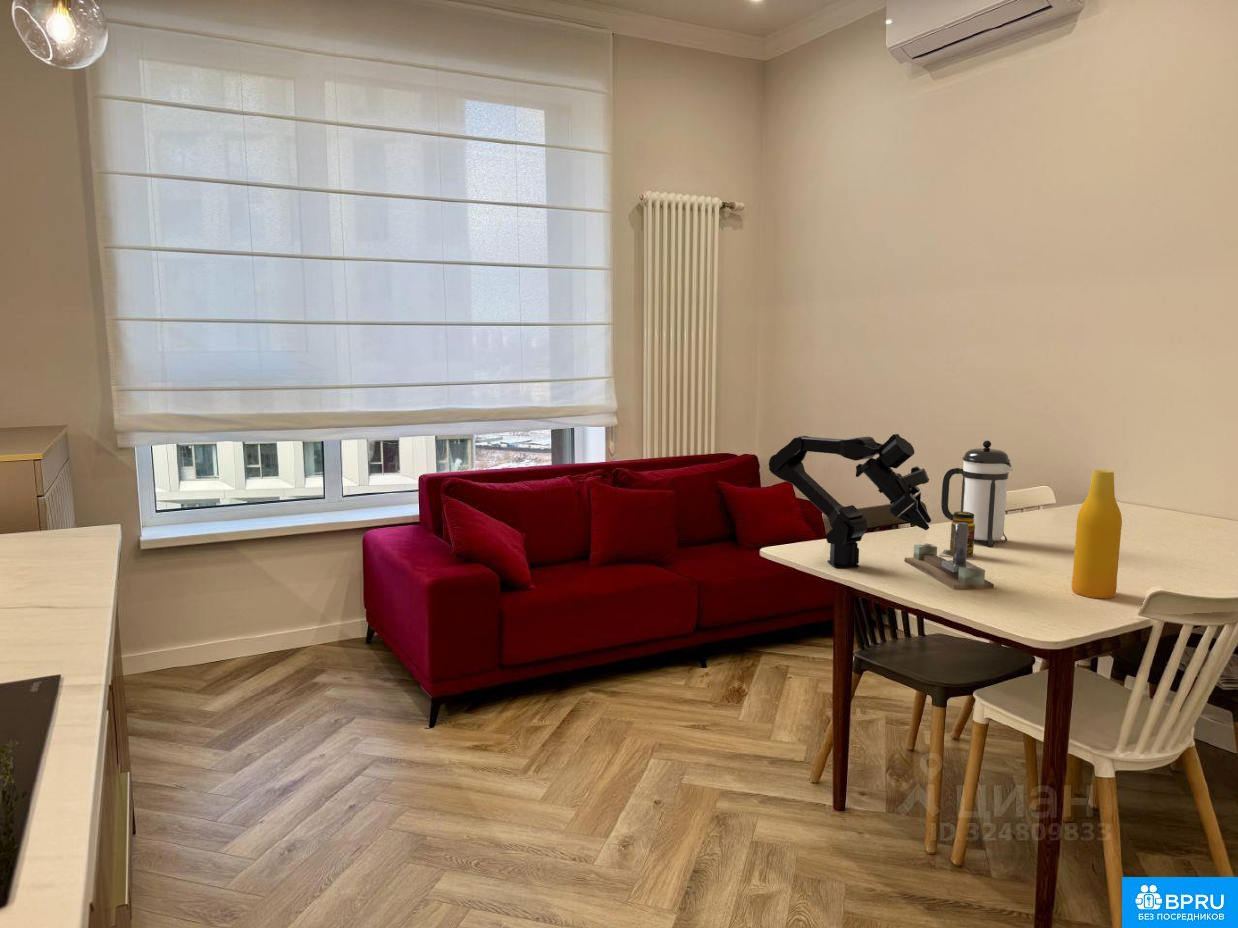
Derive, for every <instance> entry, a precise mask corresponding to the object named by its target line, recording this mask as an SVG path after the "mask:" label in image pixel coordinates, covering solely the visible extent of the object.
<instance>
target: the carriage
mask: <svg viewBox="0 0 1238 928" xmlns="http://www.w3.org/2000/svg"><path fill="white" fill-rule="evenodd" d="M967 538H968V523H964V522H956V523H955V535H954V552H953V557H952V560H951V559H949V560H947V559H945V560H946V561H942V567H944V568H946V569H948V570H950V571H952V572H959V567H967V566H975V567H978V566H977V565H976V564H974V563H972V562H969V561H968V560H967V559H966V554H967Z"/></svg>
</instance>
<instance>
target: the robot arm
mask: <svg viewBox="0 0 1238 928" xmlns="http://www.w3.org/2000/svg"><path fill="white" fill-rule="evenodd" d="M808 452H811V453H822V454H834V455H838V456H840V457H842V458H845V459H848V460H852V461H862V460H866V461H865V462H864V463H858V464H857V465H856V466H855V468H856V469H855V470H856V471H855V477H856V478H859V477H860V476H861V475H863V474H864V475H865V476H866V477H867V478H868V479H869V480H870V482H872V483H873V485H875V486H876V488H877V491H878V492H879V493H880V494H883V495H884V496H885V497H886V498H887V499H888V501H889V504H890V507H889V512H890V514H891V515H892V516H893V517H894V518H897V519H900V520H902V521H904V522H907V523H908V524H909V523H910V524H911V525H914V526H916V527H919V528H920V529H923V530H924V531H927V530H930V525H929V523H931V522H932V518H931V517H930V515H929V513H928V511H927V509H926V508H925V507H924V504H923V503H922V501H921V500H922V492H920V491H921V489H920V488H919V487H918V486H919V485H924V484H927V483H929V481H930V478H929V476H928V473H927V470H926V469H925V468H920V467H919V466H918V465H916V466H913V467H911V469H910V473H908V474H905V475H903V476H902V474H901V473H900V472H895V471H894V469H898V468H899V467H901V465H903V464H904V463H906V461H908V460H909V459H910V458H911V457H912V456H914V455H915V449H914V446H913V444H911V442H909V441H908V440H906V439H905V438H903V437H902V436H901V435H900V434H898V433H895V434H894V433H893V434H892V435H891V436H890V437H889V438H888V439H887V440H886V441H885V442H884V443H879V442H877V441H876V440H875V439H874V438H873V437H872V436H861V437H853V438H845V439H841V438H829V437H828V438H827V437H816V436H815V437H814V436H809V435H801V436H795V437H794V438H793V439H791V441H790V442H789V443H788V444H786V445H785V446H783V447H782V448H781V449H779V450H778V451H777V452H776V454H772V455H771V456H770V458H769V461H768V470H769V472H770V473H771V474H772V475H774V476H775V477H777V478H778V479H780V480H781V481H782V480H783V481H785V482H787V483H790V484H791V485H793V486H794V487H795V488H796V489H797V490H798V491H799V493H801V494H803V495H804V497H806V498H807V500H809V502H811V503H812V504H813V505H814V506H815V507H816V508H817V509H818V510H820V512H821V513H823V514H824V516H826V517H827V519H828V521H829V525H830V528H831V529H830V530H829V532H827V533H826V534H825V539H826V542H827V543H828V544H830V545H829V546H830V550H829V559H828V560H826V561H827V563H828V564H829V565H831V566H832V567H834V568H836V569H840V568H841V569H842V568H843V569H847V568H849V569H850V568H852V569H853V568H860V565H859V562H860V561H859V560H860V558H859V557H860V548H859V547H858V545H859V543H858V542H861V541H862V538H863V536H864V535H865V534H866V533H867V531H868V522H867V519H866V517H864V516H865V513H862V512H860V511H859V509H857V507H856V506H854V504H853V505H852V504H851V505H846V506H845V505H844V506H843V505H842V504H840V503H839V502H838V501H837V499H835V498H834V497H833V496H832V495H831V494H830V493H829V492H827V491H826V489H824V487H822V486H821V485H820V484H819V483H818V482H817V481H816V480H814V478H813V477H811V476H810V474H808V473H807V472H806V469H805V466H804V464H803V461H804V460H805V458H806V455H807V453H808ZM876 455H879V456H877V457H876V458H874V457H875V456H876ZM892 468H893V469H892Z"/></svg>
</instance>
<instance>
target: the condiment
mask: <svg viewBox="0 0 1238 928" xmlns="http://www.w3.org/2000/svg"><path fill="white" fill-rule="evenodd" d="M952 514H953V515H954V517H953V521H952V522H951V527H950V540H949V541H950V544H949V549H943V550H942V552H941V553H940V557H942V556H943V557H952V558H953V552H954V535H955V523H956V522H964V523H968V538H967V554H966V560H973V559H974V557H975V556H976V555H977V553H976V552H974V545H975V539H974V532H975V524H974V514H973V513H970V512H962V511H961V510H960V511H955V512H954V513H952Z"/></svg>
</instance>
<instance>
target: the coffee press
mask: <svg viewBox="0 0 1238 928" xmlns="http://www.w3.org/2000/svg"><path fill="white" fill-rule="evenodd" d="M982 446H983V448H972V449H969V450H967V451H966V452H965V453H964V456H962V461H963V468H960V467H955V468H954V467H953V468H952V469H948V470H947V472H945V474H944V476H943V479H942V485H941V486H942V487H941V499H940V500H941V512H942V514H943V515H944V517H945V518H947V520H950V521H952V522H953V517H954V515H953V514H954V513H952V512H950V509H949V498H950V497H949V496H950V495H949V493H950V483H951V482H950V481H951V478H952V477H953V475H961V476H962V480H961V481H962V482H961V500H960V511H962V512H970V513H973V514H974V524H975V532H974V541H975V540H976V541H984V542H985V545H986V546H987V548H988V547H990V548H991V547H994V541H997V540H1000V541H1001V542H1002V543H1006V542H1007V541H1008V538H1007V536H1006V535H1005V519H1006V518H1005V517H1006V504H1007V503H1006V502H1007V490H1008V489H1007V487H1008V479H1009V471H1011V472H1012V471H1013V470H1014V468H1013V466H1012V463H1011V459H1010V457H1009V455H1008V453H1006V452H1005V451H1003V450H1001V449H996V448H995V449H994V448H990V447H992V442H991V441H990V440H985V441H983V443H982ZM1002 538H1004V540H1002Z"/></svg>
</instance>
